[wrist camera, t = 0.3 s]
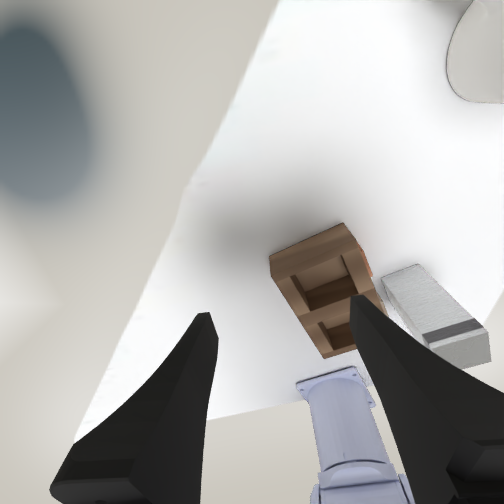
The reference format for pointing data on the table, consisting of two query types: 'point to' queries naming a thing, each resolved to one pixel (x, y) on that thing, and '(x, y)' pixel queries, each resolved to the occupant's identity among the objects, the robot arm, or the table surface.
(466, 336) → the plug
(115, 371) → the table surface
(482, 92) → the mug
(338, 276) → the port block
